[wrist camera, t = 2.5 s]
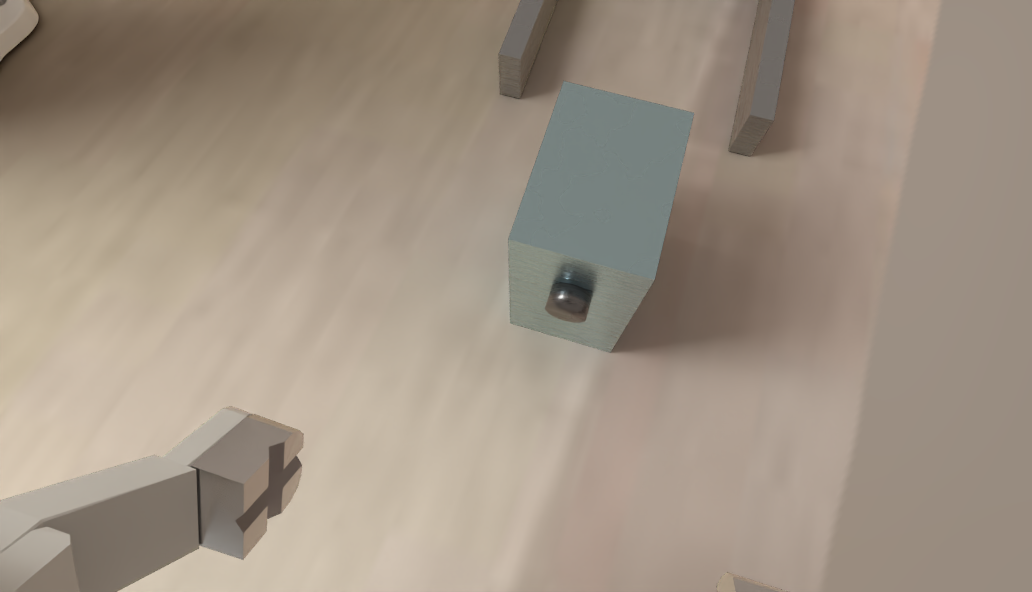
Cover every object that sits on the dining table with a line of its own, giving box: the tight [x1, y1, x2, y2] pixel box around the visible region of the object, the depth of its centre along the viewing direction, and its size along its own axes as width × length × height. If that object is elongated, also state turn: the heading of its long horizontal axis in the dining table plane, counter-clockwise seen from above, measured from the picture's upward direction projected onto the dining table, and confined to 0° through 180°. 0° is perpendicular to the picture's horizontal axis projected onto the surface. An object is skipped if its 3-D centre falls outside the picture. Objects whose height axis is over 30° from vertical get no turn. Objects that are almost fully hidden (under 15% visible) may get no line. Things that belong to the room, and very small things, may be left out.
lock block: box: [508, 81, 694, 352], centre depth 24 cm, size 8×5×9 cm, turn 163°
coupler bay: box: [499, 0, 795, 156], centre depth 32 cm, size 13×14×3 cm
